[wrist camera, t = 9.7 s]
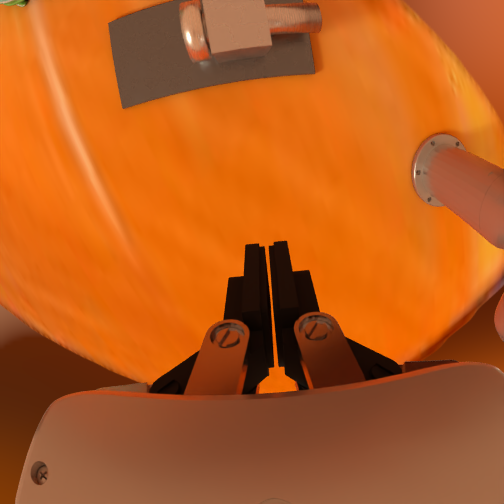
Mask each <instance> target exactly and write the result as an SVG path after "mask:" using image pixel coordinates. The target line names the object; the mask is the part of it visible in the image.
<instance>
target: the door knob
mask: <svg viewBox="0 0 504 504" xmlns="http://www.w3.org/2000/svg"><path fill="white" fill-rule="evenodd" d="M265 8H266V13H267V19H268V24H269V30H270V35H274V34H289V33H319V32H320V31H321V27H322V17H321V12H320V8H319V6H318V4H317V3H279V4H265ZM179 15H180V24H181V30H182V34H183V39H184V42H185V46H186V49H187V52H188V55H189V57H190V59H191V61H192V62H193V63H195V62H200V61H204V60H209V59H212V54H211V48H210V43H209V37H208V31H207V25H206V19H205V13H204V8H203V5H202V2H201V0H191V1H187V2H183V3H180V7H179Z"/></svg>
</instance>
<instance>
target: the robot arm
mask: <svg viewBox="0 0 504 504" xmlns="http://www.w3.org/2000/svg"><path fill="white" fill-rule="evenodd" d="M412 182H413V186H414V188H415V191H416V193H417V194H418V196H419V197H420V198H421V199H422V200H423V201H424V202H426V203H427V204H429V205H432V206H436V207H440V206H446V207H447V208H449V209H450V210H451V211H453V212H454V213H455V214H456V215H458V216H459V217H460V218H461V219H463V220H464V221H465V222H466V223H468V224H469V225H470V226H471V227H472V228H473V229H475V230H476V231H477V232H478V233H479V234H480V235H482V236H483V237H484V238H485V239H486V240H487V241H489V242H490V243H491V244H492V245H494V246H495V247H497V248H500V249H504V169H502V168H500V167H498V166H496V165H494V164H492V163H490V162H488V161H486V160H484V159H482V158H480V157H478V156H475V155H473V154H471V153H469V152H467V151H466V149H465V147H464V145H463V144H462V143H461V142H460V141H459V140H458V139H457V138H456V137H453V136H451V135H448V134H443V133H439V134H435V135H432V136H430V137H429V138H427V139H426V140H425V141H424V142H423V143H422V144H421V145H420V147H419V148H418V150H417V152H416V154H415V157H414V160H413V164H412ZM269 257H270V270H271V284H272V299H273V312H274V322H275V333H276V343H277V354H278V365H279V367H285V375H287V376H288V377H290V378H291V379H293V380H294V381H295V386H296V390H297V391H290V392H279V393H265V394H259V389H260V386H259V383H260V382H261V381H262V380H263V379H265V378H266V377H267V376H269V368H272V367H274V355H273V336H272V318H271V302H270V292H269V282H268V273H267V264H266V255H265V247H264V246H263V247H259V243H258V244H247V245H246V246H245V262H244V276H241V277H230V278H229V280H228V288H227V295H226V303H225V312H224V320H223V321H219V322H217V323H215V324H214V325H212V326H211V327H210V328H209V329H208V331H207V333H206V335H205V337H204V340H203V343H202V346H201V348H200V350H199V351H198V352H196V353H195V354H193V355H192V356H191V357H189V358H188V359H186V360H185V361H183V362H182V363H180V364H179V365H178V366H176V367H175V368H173V369H172V370H170V371H169V372H167V373H166V374H164V375H163V376H161V377H160V378H158V379H157V380H156V381H155V382H154V383H153V385H148V384H147V382H146V383H139V384H132V385H123V386H115V387H106V388H101V389H97V390H96V391H84V392H78V393H74V394H69V395H66V396H63V397H61V398H59V399H57V400H56V401H54V402H53V403H52V404H51V405H50V406H49V408H48V409H47V411H46V412H45V414H44V416H43V418H42V420H41V422H40V423H39V425H38V428H37V430H36V433H35V435H34V437H33V440H32V443H31V445H30V448H29V451H28V454H27V457H26V461H25V464H24V468H23V471H22V475H21V479H20V483H19V487H18V491H17V496H16V502H15V504H504V373H503V372H502V371H501V370H499V369H498V368H497V367H495V366H493V365H489V364H485V363H478V362H458V361H455V360H438V361H411V362H404V364H403V365H398V364H397V363H396V362H395V361H393V360H391V359H389V358H387V357H385V356H383V355H381V354H379V353H377V352H375V351H373V350H371V349H369V348H367V347H365V346H363V345H361V344H359V343H357V342H355V341H353V340H351V339H349V338H347V337H345V336H344V334H343V332H342V330H341V328H340V326H339V324H338V322H337V321H336V320H335V318H334V317H332V316H331V315H329V314H326V313H323V312H320V311H319V306H318V302H317V298H316V294H315V290H314V287H313V283H312V279H311V275H310V272H309V270H304V271H294V272H293V271H292V266H291V260H290V255H289V249H288V244H287V241H278V242H274V245H273V246H269ZM495 326H496V330H497V332H498V334H499V336H500V337H501V339H502V340H503V341H504V293H503V295H502V297H501V299H500V301H499V303H498V306H497V308H496V312H495Z"/></svg>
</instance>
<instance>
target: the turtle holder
mask: <svg viewBox="0 0 504 504" xmlns="http://www.w3.org/2000/svg"><path fill="white" fill-rule="evenodd" d="M0 4H4V5H7V6H11V5H16V4H17V5H18V6H20V7H24V6H25V5H26V4H27V1H26V0H0Z"/></svg>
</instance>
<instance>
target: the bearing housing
mask: <svg viewBox="0 0 504 504" xmlns="http://www.w3.org/2000/svg"><path fill="white" fill-rule="evenodd" d="M187 1H191V0H174V1H171V2H167V3H163V4H160V5H157V6H153V7H150V8H147V9H144V10H141V11H138V12H135V13H133V14H130V15H127V16H125V17H122V18H119V19H117V20H114V21H112V22H110V23H108V24H109V32H110V40H111V47H112V53H113V60H114V66H115V72H116V77H117V83H118V88H119V93H120V98H121V103H122V108H123V109H125V108H128V107H131V106H135V105H138V104H141V103H144V102H148V101H151V100H155V99H158V98H162V97H166V96H170V95H173V94H177V93H182V92H186V91H190V90H195V89H199V88H204V87H209V86H214V85H220V84H226V83H231V82H238V81H245V80H252V79H260V78H268V77H278V76H290V75H304V74H315V69H314V62H313V55H312V49H311V43H310V37H309V33H289V34H274V35H270V30H269V24H268V19H267V13H266V8H265V4H279V3H303V0H201V2H202V5H203V8H204V13H205V19H206V25H207V31H208V37H209V43H210V48H211V54H212V59H209V60H204V61H200V62H195V63H193V62H192V61H191V59H190V57H189V55H188V52H187V49H186V46H185V42H184V39H183V34H182V30H181V24H180V15H179V7H180V3H183V2H187Z"/></svg>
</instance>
